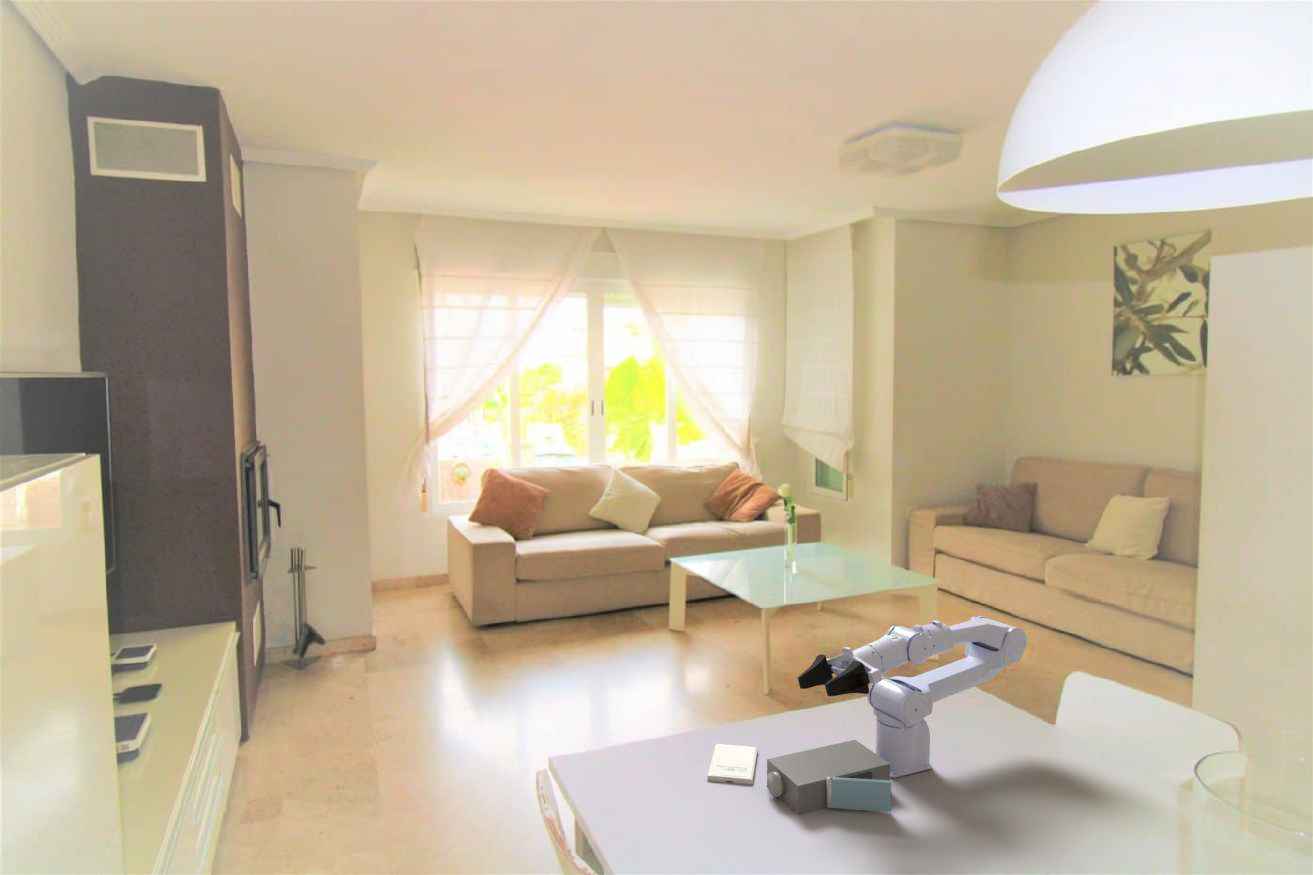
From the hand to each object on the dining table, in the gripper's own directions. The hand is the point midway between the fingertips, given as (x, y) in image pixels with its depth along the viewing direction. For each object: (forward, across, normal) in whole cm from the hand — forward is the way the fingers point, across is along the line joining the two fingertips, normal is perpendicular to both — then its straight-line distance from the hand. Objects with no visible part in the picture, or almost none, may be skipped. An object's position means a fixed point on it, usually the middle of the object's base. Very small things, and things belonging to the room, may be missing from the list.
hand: (813, 686), depth 138 cm
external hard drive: (+10, -18, +16) cm, 26 cm away
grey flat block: (0, -3, +19) cm, 19 cm away
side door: (0, +5, +20) cm, 21 cm away
